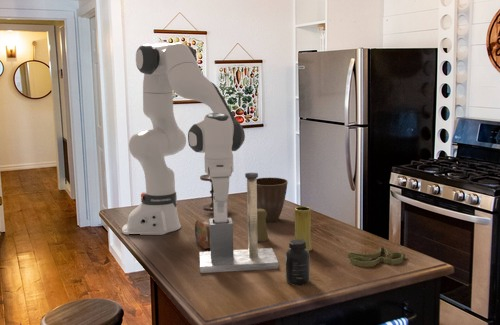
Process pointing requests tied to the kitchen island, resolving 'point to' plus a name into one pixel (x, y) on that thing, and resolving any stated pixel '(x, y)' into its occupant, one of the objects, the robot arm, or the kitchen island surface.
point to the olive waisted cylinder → (262, 225)
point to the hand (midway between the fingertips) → (220, 210)
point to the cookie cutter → (366, 258)
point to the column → (220, 216)
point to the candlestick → (210, 206)
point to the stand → (222, 242)
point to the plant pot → (271, 196)
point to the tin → (202, 233)
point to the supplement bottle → (297, 263)
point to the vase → (303, 225)
